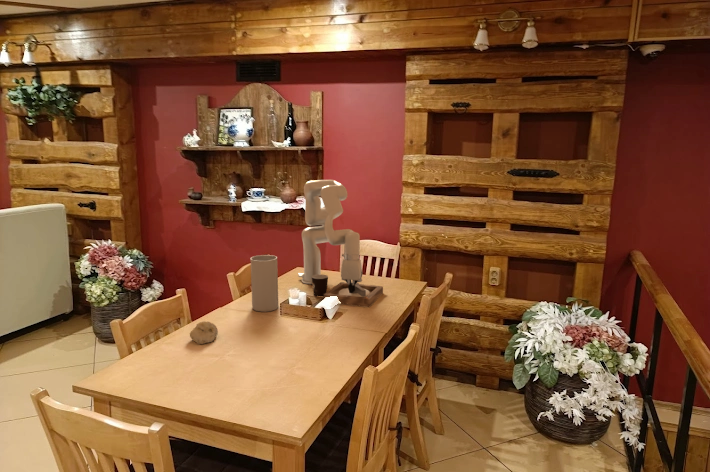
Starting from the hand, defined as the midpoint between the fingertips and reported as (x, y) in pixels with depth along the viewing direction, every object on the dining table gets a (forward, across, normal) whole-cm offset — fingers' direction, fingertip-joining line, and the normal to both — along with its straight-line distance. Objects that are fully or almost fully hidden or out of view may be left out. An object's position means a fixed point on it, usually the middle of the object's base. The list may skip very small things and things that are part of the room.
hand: (351, 292), depth 255 cm
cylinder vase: (+5, -35, -25) cm, 44 cm away
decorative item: (+5, -39, -68) cm, 79 cm away
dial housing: (+5, 0, +5) cm, 7 cm away
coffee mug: (+5, -20, +5) cm, 21 cm away
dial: (+3, +1, +3) cm, 5 cm away
